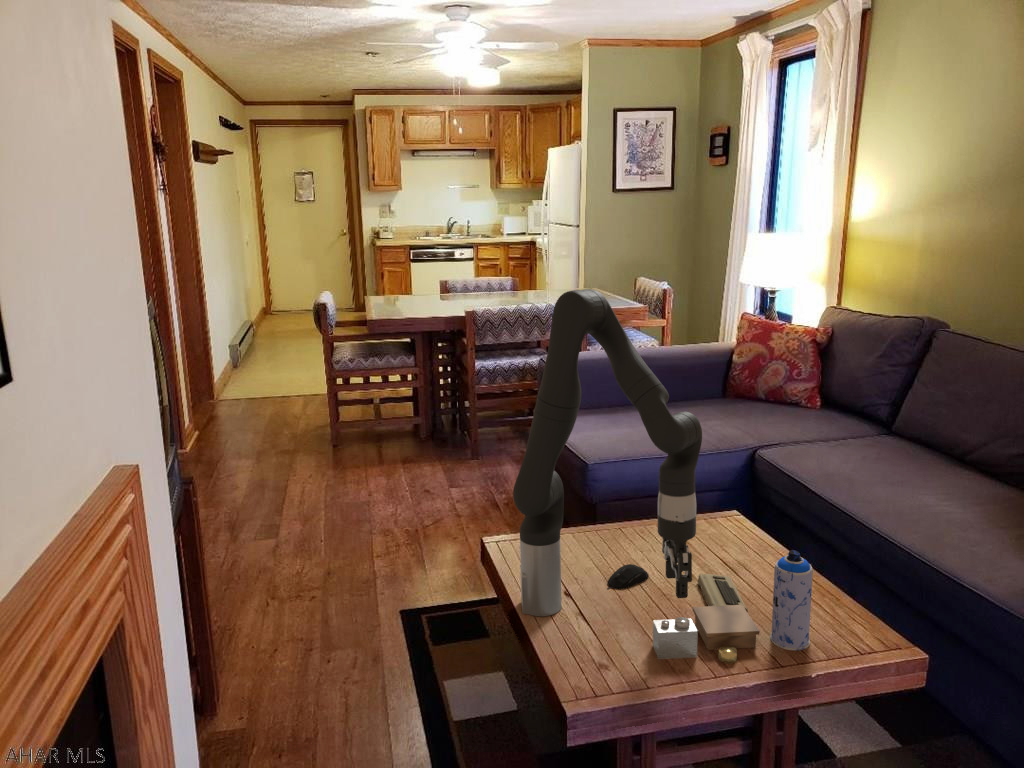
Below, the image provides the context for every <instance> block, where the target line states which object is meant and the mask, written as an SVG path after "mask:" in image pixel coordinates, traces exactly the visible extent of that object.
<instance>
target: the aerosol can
mask: <svg viewBox="0 0 1024 768" xmlns="http://www.w3.org/2000/svg"><path fill="white" fill-rule="evenodd" d="M813 571H814V570H813V567H812V564H810V563H809V561H808V560H807V559H806V558H803V557H801V552H799V551H797V550H795V549H791V550H790V549H789V551H788V553H787V555H785V556H782V557H781V558H780V559H778V560H777V561H776V562H775V565H774V572H773V575H774V576H773V594H772V595H773V596H772V597H773V598H772V615H771V616H772V617H771V633H770V641H771V642H772V643H773V644H774V645H775V646H777V647H778V648H781V649H784V650H789V651H802V650H805V649H808V647H809V646H810V644H811V643H810V642H811V641H810V625H811V611H812V610H811V609H812V608H811V607H812V591H813V573H814V572H813Z"/></svg>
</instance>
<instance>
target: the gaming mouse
mask: <svg viewBox="0 0 1024 768" xmlns="http://www.w3.org/2000/svg"><path fill="white" fill-rule="evenodd" d="M649 577H650V576H649V572H648V571H646V570H645V569H644V568H642V567H641V566H638V565H637V564H631V563H629V564H625V565H622V566H620V567H619V568H618V569H617V570H615V571H614V572H613V573H612V574H611V575H610V576H609V578H608V580H607V585H608V586H609V587H607V588H606V590H607V591H608V590H610V589H615V590H626V589H630V588H632V587H634V586H636V585H639V584H642V583H643V582H646V581H647V580H648V579H649Z"/></svg>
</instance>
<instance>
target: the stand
mask: <svg viewBox="0 0 1024 768" xmlns="http://www.w3.org/2000/svg"><path fill="white" fill-rule="evenodd" d="M692 612H693V614H694V616H695V617H694V625H695V627H696V629H697V631H698V633H699V636H700V637H701V639H702V640H703V643H704V645H705V647H706V648H707V650H708V651H709V650H710V651H711V650H719V647H721V646H724V645H728V646H732V647H734V648H736V649H744V648H746V649H747V648H756V647H757V635H758V636H759V635H761V634H760V632H761V631H760V630H759V628H758V626H757V625H756V622H754V620H753V619H752V617H751V616H750V615H749V612H748V613H747V611H746V610H745V608H744V607H743V605H725V606H708V605H707V606H692Z"/></svg>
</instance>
